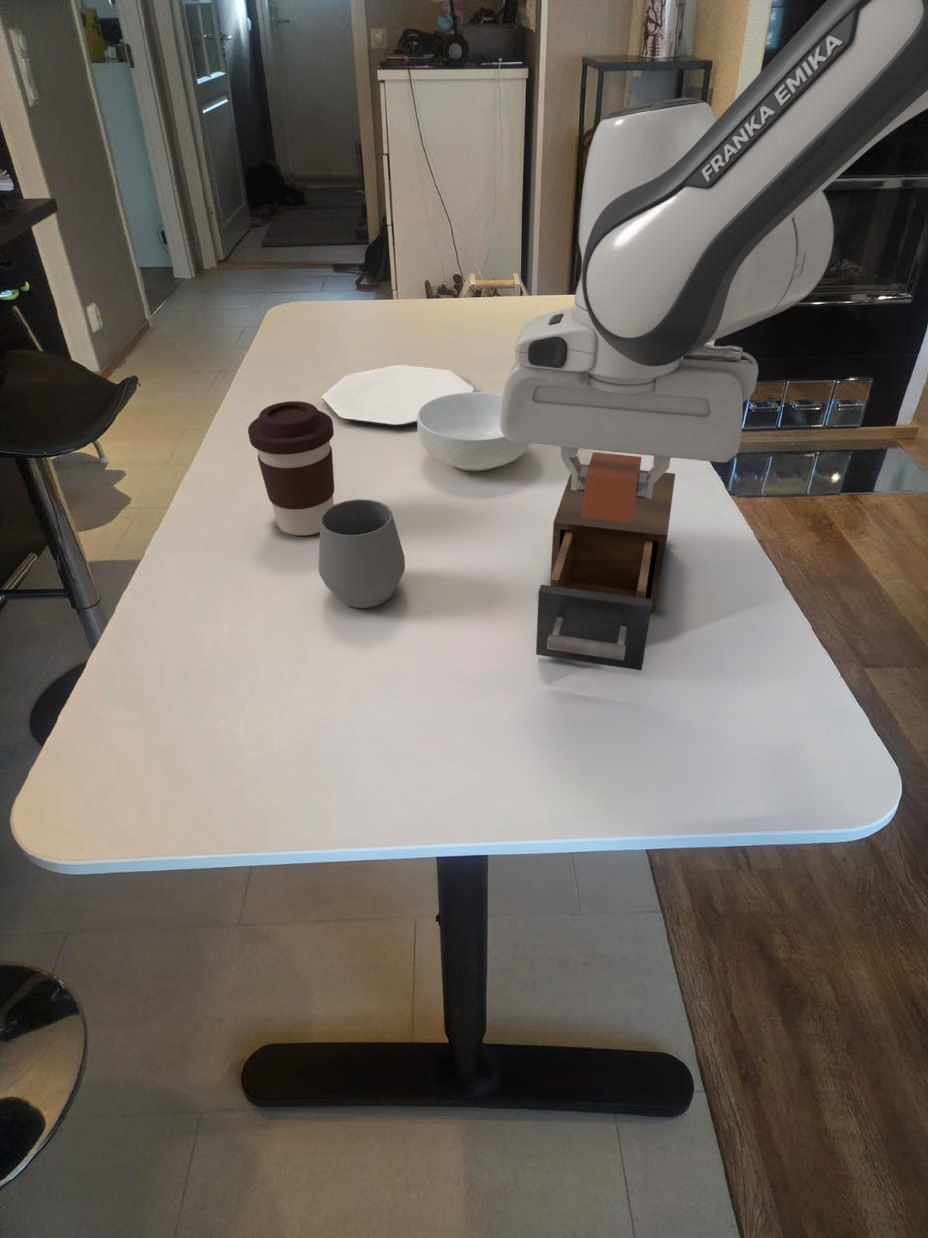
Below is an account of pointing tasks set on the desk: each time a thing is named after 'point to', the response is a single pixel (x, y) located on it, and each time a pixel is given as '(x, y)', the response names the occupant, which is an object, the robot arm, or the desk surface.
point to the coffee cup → (295, 463)
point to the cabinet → (622, 525)
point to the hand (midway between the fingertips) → (611, 491)
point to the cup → (360, 552)
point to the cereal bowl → (467, 431)
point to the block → (611, 487)
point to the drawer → (597, 601)
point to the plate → (391, 393)
